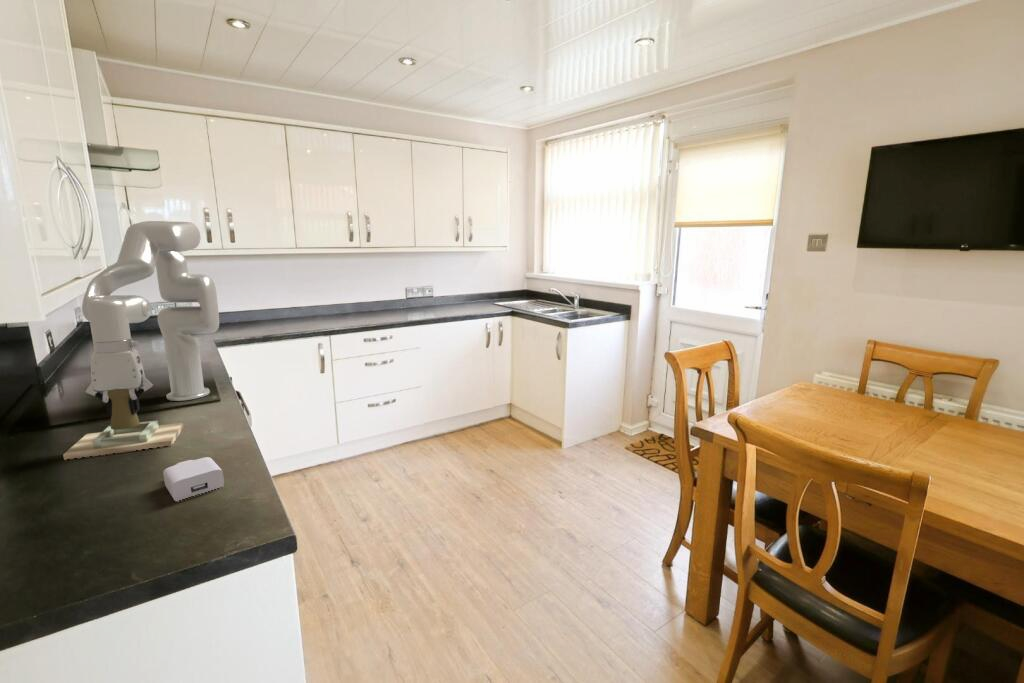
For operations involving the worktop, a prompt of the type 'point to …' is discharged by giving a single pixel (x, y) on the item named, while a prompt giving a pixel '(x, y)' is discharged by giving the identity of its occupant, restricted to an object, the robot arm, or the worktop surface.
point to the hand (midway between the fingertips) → (124, 413)
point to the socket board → (125, 440)
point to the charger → (193, 478)
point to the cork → (121, 410)
